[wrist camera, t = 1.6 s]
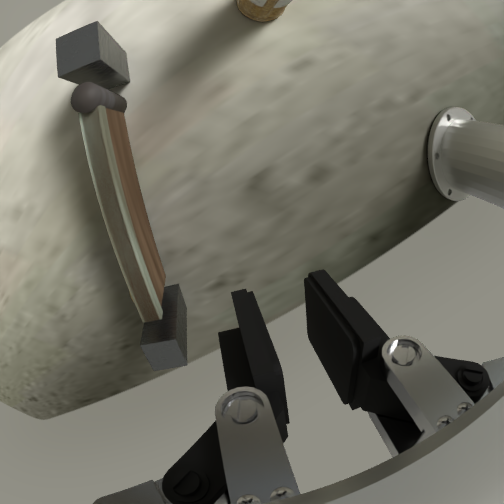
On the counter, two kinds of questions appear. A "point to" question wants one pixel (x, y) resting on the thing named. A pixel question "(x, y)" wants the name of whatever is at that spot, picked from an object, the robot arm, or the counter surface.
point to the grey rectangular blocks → (107, 76)
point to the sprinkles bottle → (262, 8)
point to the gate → (120, 195)
